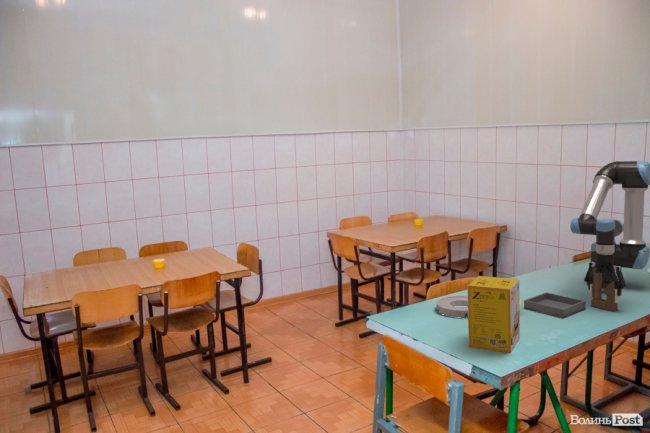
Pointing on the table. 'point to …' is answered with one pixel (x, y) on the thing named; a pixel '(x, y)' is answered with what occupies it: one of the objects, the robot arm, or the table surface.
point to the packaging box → (493, 313)
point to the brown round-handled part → (608, 291)
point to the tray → (555, 305)
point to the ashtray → (453, 306)
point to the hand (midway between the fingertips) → (604, 299)
